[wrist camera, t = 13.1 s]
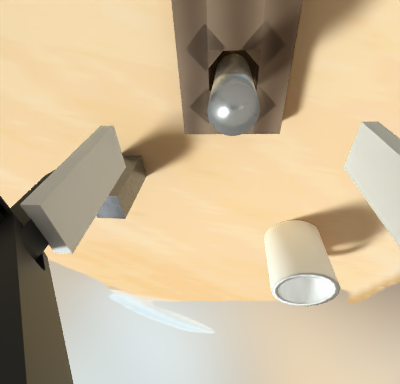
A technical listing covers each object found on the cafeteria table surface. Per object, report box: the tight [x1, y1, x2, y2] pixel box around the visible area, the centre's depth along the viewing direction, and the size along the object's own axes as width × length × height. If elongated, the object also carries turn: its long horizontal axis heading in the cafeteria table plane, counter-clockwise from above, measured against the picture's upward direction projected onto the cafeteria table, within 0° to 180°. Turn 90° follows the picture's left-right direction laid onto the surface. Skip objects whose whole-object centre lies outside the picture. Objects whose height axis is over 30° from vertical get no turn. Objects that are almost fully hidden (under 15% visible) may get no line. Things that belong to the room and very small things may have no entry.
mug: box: [264, 220, 340, 306], centre depth 41 cm, size 14×10×11 cm
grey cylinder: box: [207, 54, 260, 136], centre depth 23 cm, size 4×4×13 cm
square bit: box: [97, 156, 146, 219], centre depth 34 cm, size 4×4×10 cm
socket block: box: [172, 0, 303, 134], centre depth 23 cm, size 12×24×3 cm, turn 3°
